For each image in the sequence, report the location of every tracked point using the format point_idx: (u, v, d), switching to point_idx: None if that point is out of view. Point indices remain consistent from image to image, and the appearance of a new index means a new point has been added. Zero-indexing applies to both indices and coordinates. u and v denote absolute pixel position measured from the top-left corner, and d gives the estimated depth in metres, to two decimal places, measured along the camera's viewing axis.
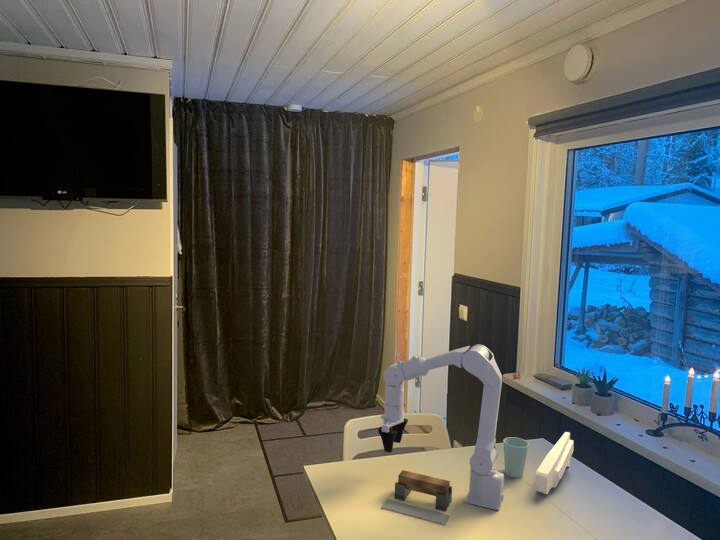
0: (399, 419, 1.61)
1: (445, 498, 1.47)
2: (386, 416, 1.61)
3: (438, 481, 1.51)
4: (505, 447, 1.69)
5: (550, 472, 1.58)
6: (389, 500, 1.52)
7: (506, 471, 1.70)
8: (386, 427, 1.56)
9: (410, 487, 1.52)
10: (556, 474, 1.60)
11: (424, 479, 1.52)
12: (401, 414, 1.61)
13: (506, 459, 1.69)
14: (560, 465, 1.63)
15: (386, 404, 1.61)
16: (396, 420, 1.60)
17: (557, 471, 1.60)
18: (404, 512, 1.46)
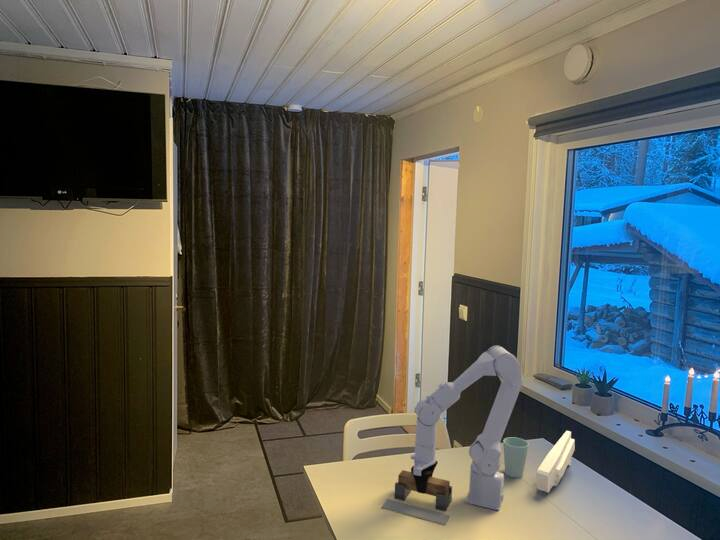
0: (431, 460, 1.49)
1: (445, 498, 1.47)
2: (417, 457, 1.50)
3: (438, 481, 1.51)
4: (505, 447, 1.69)
5: (551, 470, 1.59)
6: (389, 500, 1.52)
7: (506, 471, 1.70)
8: (418, 470, 1.45)
9: (410, 487, 1.52)
10: (557, 472, 1.61)
11: None
12: (433, 455, 1.50)
13: (506, 459, 1.69)
14: (561, 464, 1.64)
15: (417, 444, 1.50)
16: (428, 461, 1.49)
17: (558, 469, 1.61)
18: (404, 512, 1.46)
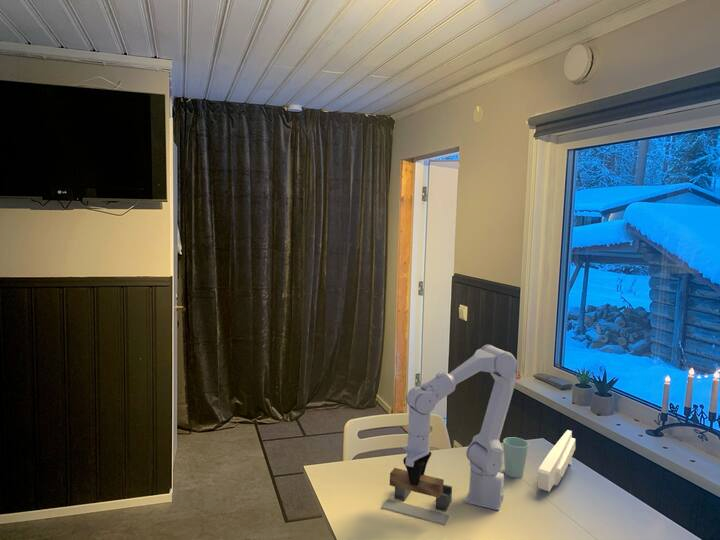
0: (425, 451, 1.43)
1: (445, 498, 1.47)
2: (410, 447, 1.43)
3: (431, 479, 1.44)
4: (505, 447, 1.69)
5: (552, 469, 1.59)
6: (389, 500, 1.52)
7: (506, 471, 1.70)
8: (411, 461, 1.38)
9: (402, 486, 1.46)
10: (558, 472, 1.62)
11: None
12: (427, 445, 1.43)
13: (506, 459, 1.69)
14: (562, 463, 1.65)
15: (410, 434, 1.43)
16: (421, 452, 1.42)
17: (559, 469, 1.62)
18: (404, 512, 1.46)
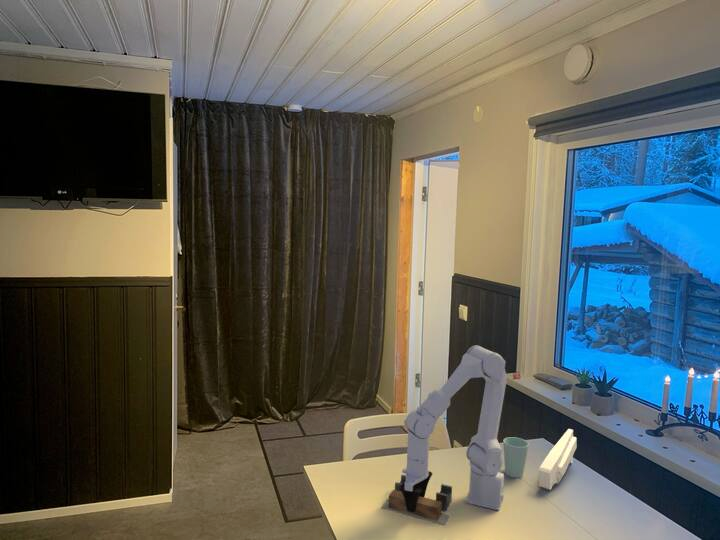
0: (423, 475, 1.43)
1: (445, 498, 1.47)
2: (409, 471, 1.44)
3: (430, 502, 1.45)
4: (505, 447, 1.69)
5: (553, 468, 1.60)
6: None
7: (506, 471, 1.70)
8: (410, 485, 1.39)
9: (401, 508, 1.46)
10: (559, 470, 1.63)
11: None
12: (426, 469, 1.44)
13: (506, 459, 1.69)
14: (563, 461, 1.66)
15: (409, 458, 1.44)
16: (420, 476, 1.43)
17: (560, 467, 1.63)
18: (404, 512, 1.46)
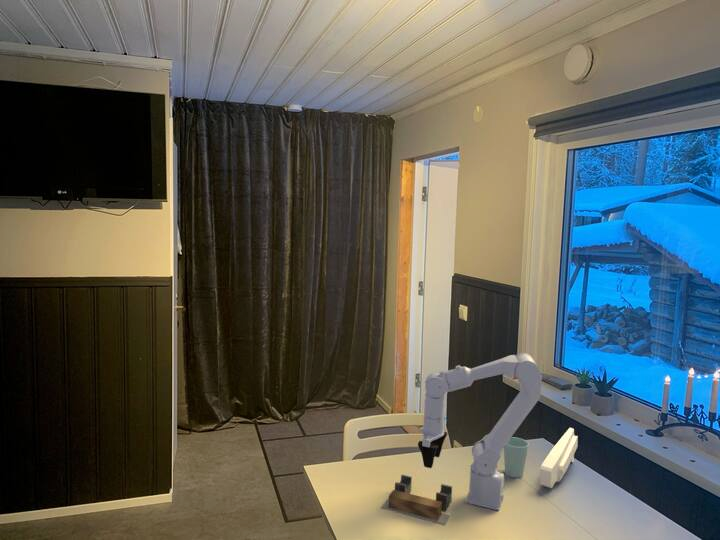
0: (440, 433, 1.52)
1: (445, 498, 1.47)
2: (426, 429, 1.53)
3: (430, 502, 1.45)
4: (505, 447, 1.69)
5: (554, 466, 1.61)
6: None
7: (506, 471, 1.70)
8: (427, 441, 1.48)
9: (401, 508, 1.46)
10: (560, 468, 1.64)
11: (415, 500, 1.46)
12: (442, 427, 1.52)
13: (506, 459, 1.69)
14: (564, 460, 1.67)
15: (426, 417, 1.53)
16: (437, 434, 1.52)
17: (561, 466, 1.64)
18: (404, 512, 1.46)
